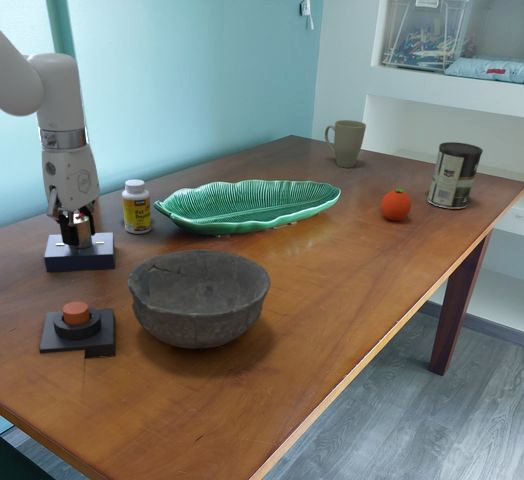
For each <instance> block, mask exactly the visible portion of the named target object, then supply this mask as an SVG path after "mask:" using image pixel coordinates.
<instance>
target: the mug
mask: <svg viewBox="0 0 524 480" xmlns="http://www.w3.org/2000/svg"><path fill="white" fill-rule="evenodd" d="M366 128H367V124H366V123H365V122H362V121H358V120H352V119H350V120H349V119H342V120H336V121H335V122H334V125H333V124H332V125H328V126H327V127H326V128H325V131H324V140H325V143H326V144H327V146H328V148H329V149H330V151H331V152H332V154H334V156H335V161H336V166H337V165H338V166H337V167H339V166H340V168H343V167H344V169H350V168H353V167H354V165H355V163H356V160H357V158H358V156H359V154H360V152H361V149H362V146H363V142H364V137H365V132H366ZM330 129H331V130H333V131H334V136H333V146H332V144H331V142H330V140H329V135H328V134H329V131H330Z"/></svg>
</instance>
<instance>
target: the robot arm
mask: <svg viewBox="0 0 524 480" xmlns="http://www.w3.org/2000/svg"><path fill="white" fill-rule="evenodd" d="M81 87H82V86H81V80H80V72H79V66H78V62H77V60H76V59H75V58H74V57H73V56H71V55H69V54H67V53H61V52H60V53H59V52H39V53H34V54H22V53H21V51H20V50H19V49H18V48H17V47H16V45H14V44H13V43H12V42H11V40H10V39H9V38H8V37H7V35H5V33H4V32H3V31H2V30H1V29H0V111H2V112H3V113H5V114H7V115H9V116H13V117H18V118H22V117H24V118H25V117H29V116H32V115H34V114H35V117H36V123H37V129H38V134H39V135H38V136H39V140H40V146H41V169H42V171H41V172H42V180H43V188H44V192H45V198H46V202H47V207H46V208H47V209H46V213H45V214H46V216H47V217H48V218H50V219H52V220H54V221H55V222H56V224H57V225H59V228H60V234H61V235H62V241H63V243H64V244H66V245H71V246H79V245H80V243H79V236H78V230H77V225H74V214H80V213H84V215H86V216H88V217H89V222H90V229H91V236H94V235H95V233H96V227H95V220H94V214H95V207H94V205H95V203H96V200H97V198H99V196H100V195H101V188H100V181H99V175H98V170H97V165H96V160H95V155H94V153H93V149H92V147H91V143H90V142H89V141H88V133H87V126H86V118H85V117H86V116H85V108H84V103H83V95H82V88H81ZM76 211H77V212H76ZM64 212H67V213H66V214H64ZM75 212H76V213H75ZM66 216H67V217H66Z"/></svg>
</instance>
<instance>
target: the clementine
mask: <svg viewBox="0 0 524 480" xmlns="http://www.w3.org/2000/svg"><path fill="white" fill-rule="evenodd" d="M380 203H381V204H380V210H381V213H382V214H383V216H384V217H385V218H386V219H389V220H390V219H391V220H390V221H400V220H403V219H404V218H405V217H408V214H409V213H410V211H411V208H412V200H411V197H410V195H408V194H407V192H406V191H404V189H401V188H400V189H399V188H398V189H393V190H390V191H389V192H387V193H386V194H385V195H384V196H383V198H382V200H381V202H380Z"/></svg>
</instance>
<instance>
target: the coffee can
mask: <svg viewBox="0 0 524 480" xmlns="http://www.w3.org/2000/svg"><path fill="white" fill-rule="evenodd" d="M483 151H484V150H483V148H481V147H480V146H477V145H475V144H471V143H470V144H469V143H464V142H455V141H454V142H453V141H449V142H442V143H440V144H439V146H438V152H437V156H436V157H437V158H436V162H435V166H434V169H433V173H432V174H433V175H432V178H431V183H430V188H429V191H428V196H427V199H426V201H427V200H428V201H427V203H428V202H429V203H431V204H433V205H435V206H439V207H444V208H463V207H466V206H467V207H468V203H469V200H470V195H471V192H472V189H473V185H474V182H475V178H476V174H477V171H478V168H479V164H480V161H481V157H482V154H483ZM429 203H428V204H429ZM431 204H430V205H431ZM433 205H432V206H433ZM435 206H434V207H435ZM467 207H466V208H467Z"/></svg>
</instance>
